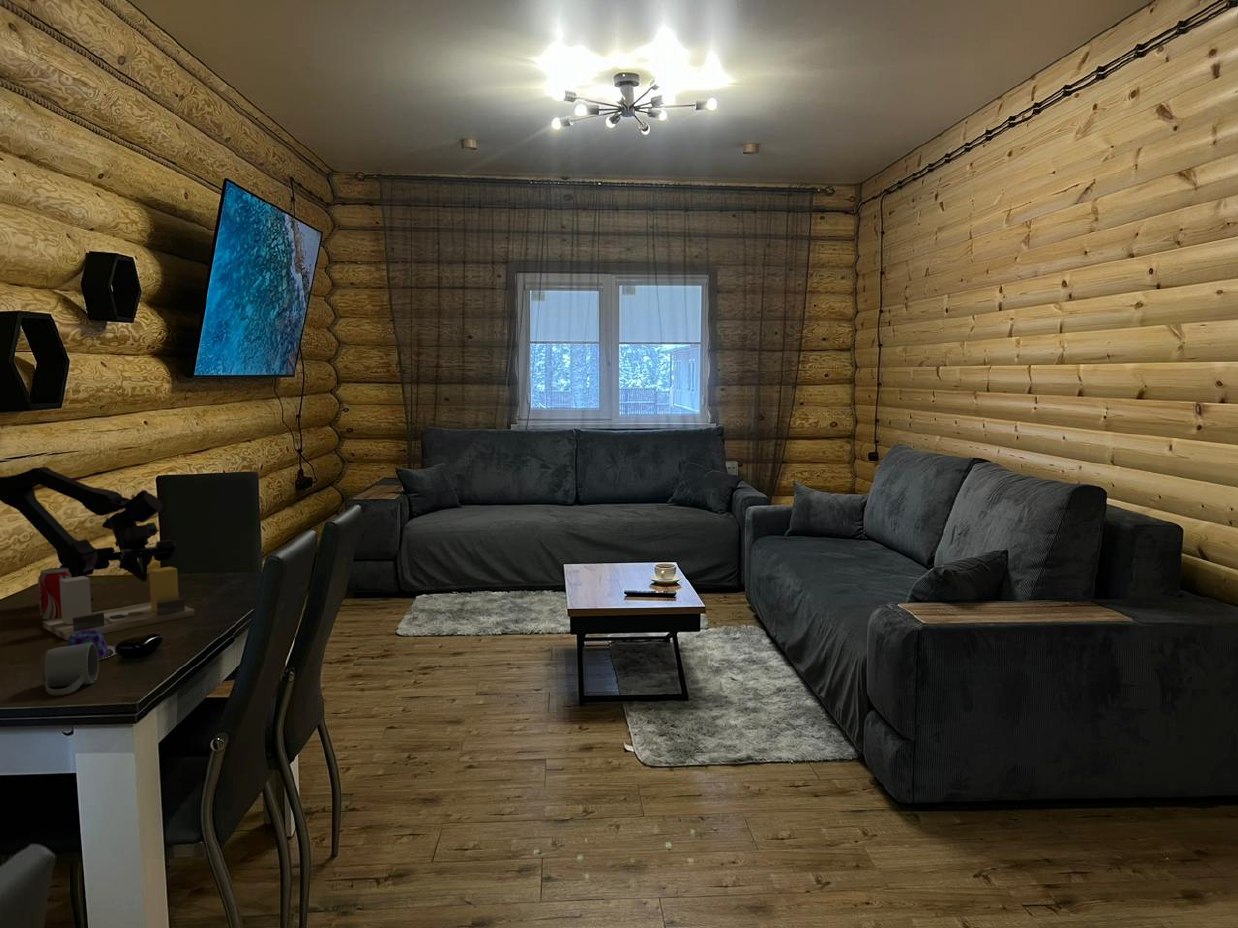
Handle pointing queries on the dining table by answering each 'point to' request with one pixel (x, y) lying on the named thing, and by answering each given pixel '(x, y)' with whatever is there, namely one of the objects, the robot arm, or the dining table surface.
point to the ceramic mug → (69, 667)
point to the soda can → (51, 592)
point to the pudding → (91, 641)
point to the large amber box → (163, 585)
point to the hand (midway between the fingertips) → (144, 580)
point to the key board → (121, 618)
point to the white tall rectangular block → (75, 598)
